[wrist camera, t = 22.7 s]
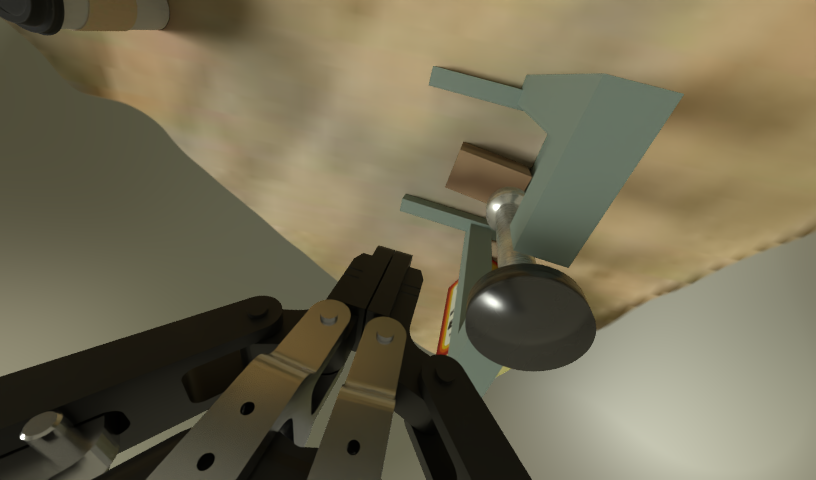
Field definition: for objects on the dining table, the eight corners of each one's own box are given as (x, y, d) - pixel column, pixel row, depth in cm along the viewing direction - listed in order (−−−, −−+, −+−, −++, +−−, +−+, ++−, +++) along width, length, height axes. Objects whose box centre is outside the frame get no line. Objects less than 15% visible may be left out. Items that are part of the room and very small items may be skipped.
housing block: (463, 141, 38) (460, 149, 34) (527, 165, 38) (532, 177, 34) (449, 175, 41) (445, 187, 37) (509, 198, 41) (511, 213, 36)
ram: (488, 168, 26) (489, 264, 13) (553, 187, 26) (625, 308, 12) (467, 223, 30) (450, 347, 16) (524, 241, 29) (556, 385, 16)
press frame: (439, 51, 34) (350, 9, 12) (583, 89, 32) (782, 119, 10) (401, 213, 46) (320, 342, 24) (506, 247, 44) (523, 417, 22)
